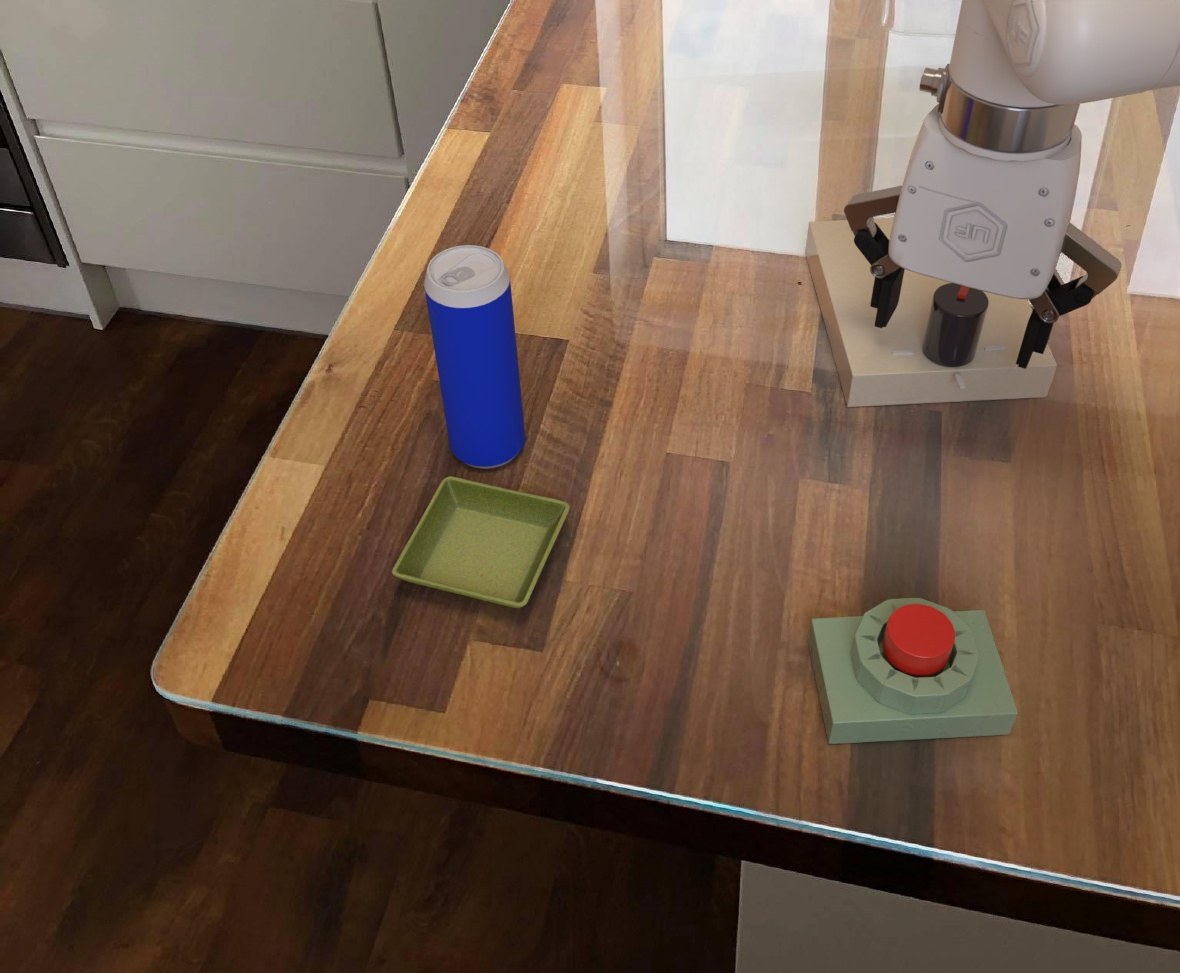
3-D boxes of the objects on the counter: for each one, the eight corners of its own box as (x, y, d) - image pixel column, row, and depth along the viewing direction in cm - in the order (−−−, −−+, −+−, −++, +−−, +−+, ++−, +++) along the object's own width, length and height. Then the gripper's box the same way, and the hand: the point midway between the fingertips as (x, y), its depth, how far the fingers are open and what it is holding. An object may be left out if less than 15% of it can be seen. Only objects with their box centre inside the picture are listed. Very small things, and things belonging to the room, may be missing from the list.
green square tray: (448, 495, 81) (445, 473, 79) (573, 523, 79) (572, 501, 77) (393, 595, 75) (389, 574, 73) (527, 628, 73) (524, 607, 71)
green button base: (976, 631, 72) (991, 589, 69) (1009, 734, 67) (1026, 694, 64) (807, 640, 72) (814, 598, 69) (828, 744, 67) (836, 704, 64)
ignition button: (940, 620, 68) (946, 601, 67) (956, 674, 66) (963, 655, 64) (876, 624, 68) (880, 604, 67) (889, 678, 66) (894, 659, 64)
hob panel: (979, 244, 98) (988, 210, 95) (1055, 416, 84) (1067, 382, 82) (805, 252, 97) (809, 219, 95) (852, 426, 84) (858, 392, 82)
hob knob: (968, 373, 83) (983, 317, 79) (916, 359, 84) (928, 304, 80) (980, 341, 85) (995, 286, 81) (929, 328, 86) (941, 273, 83)
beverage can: (491, 409, 86) (470, 231, 75) (541, 445, 83) (526, 266, 73) (434, 446, 84) (404, 268, 73) (484, 484, 81) (460, 306, 70)
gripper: (844, 104, 71) (814, 333, 84) (1153, 171, 65) (1071, 407, 78) (884, 48, 76) (850, 273, 88) (1177, 106, 70) (1097, 338, 82)
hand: (954, 335), depth 83 cm, fingers open, 9 cm apart
